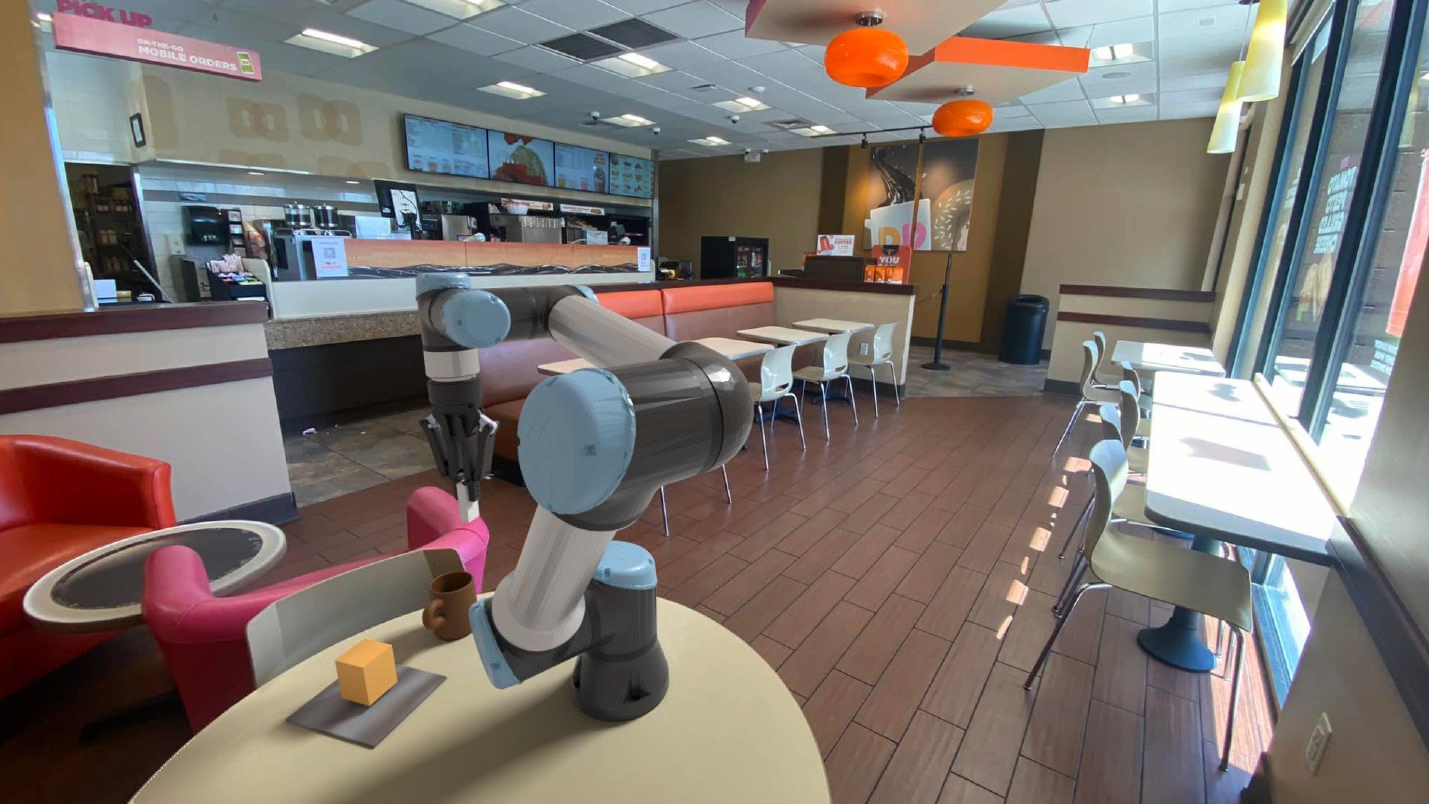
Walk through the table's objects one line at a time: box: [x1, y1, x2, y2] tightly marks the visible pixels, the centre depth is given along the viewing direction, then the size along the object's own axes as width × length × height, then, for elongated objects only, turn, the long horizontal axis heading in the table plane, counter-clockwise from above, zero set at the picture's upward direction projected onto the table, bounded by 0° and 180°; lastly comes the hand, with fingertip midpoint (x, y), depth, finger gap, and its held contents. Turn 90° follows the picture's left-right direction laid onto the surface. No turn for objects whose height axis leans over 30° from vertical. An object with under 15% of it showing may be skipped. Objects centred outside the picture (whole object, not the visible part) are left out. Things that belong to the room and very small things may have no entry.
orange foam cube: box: [334, 638, 397, 706], centre depth 88 cm, size 5×5×7 cm
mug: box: [421, 570, 478, 641], centre depth 103 cm, size 12×8×9 cm, turn 172°
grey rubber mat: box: [285, 663, 448, 749], centre depth 88 cm, size 16×14×7 cm
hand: (470, 518), depth 95 cm, fingers closed
